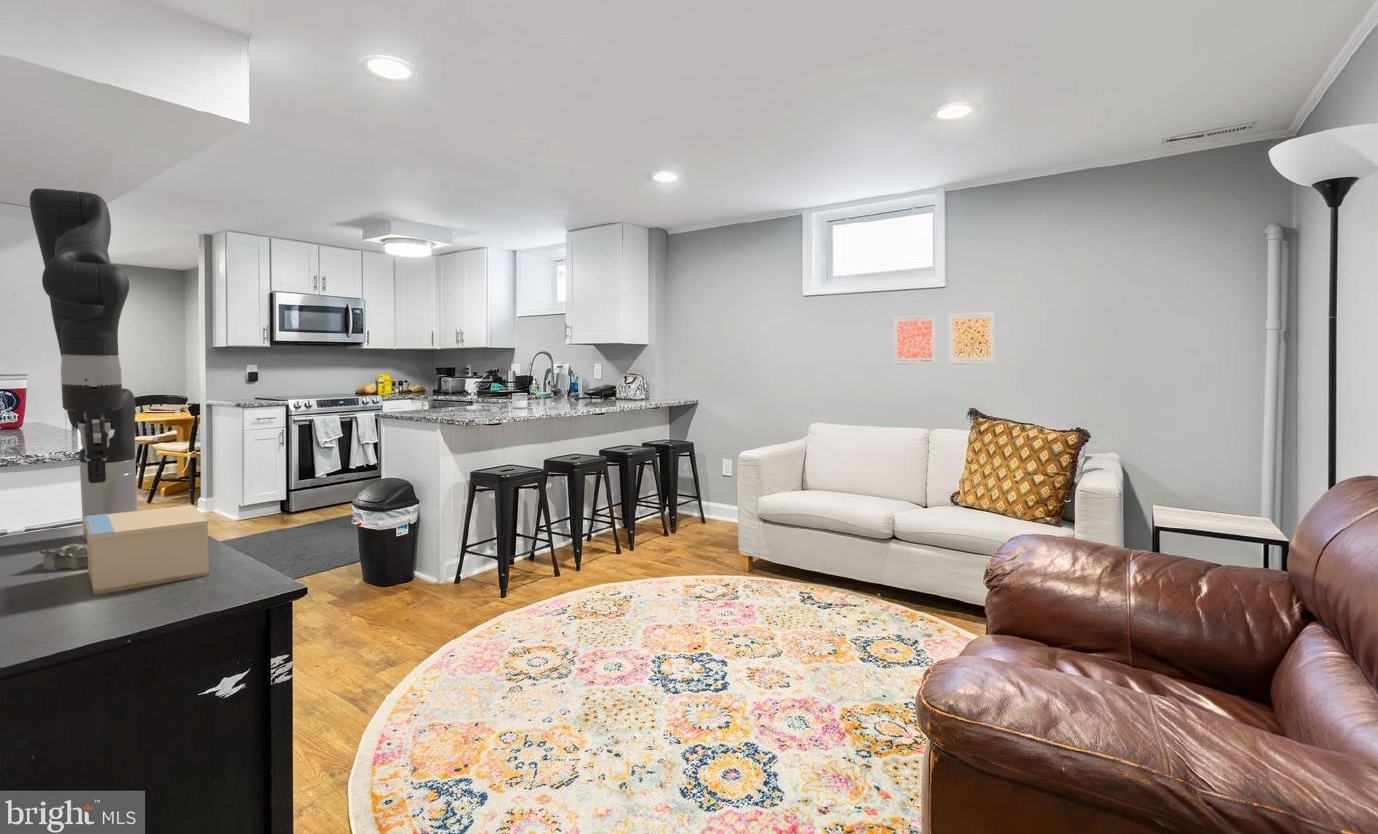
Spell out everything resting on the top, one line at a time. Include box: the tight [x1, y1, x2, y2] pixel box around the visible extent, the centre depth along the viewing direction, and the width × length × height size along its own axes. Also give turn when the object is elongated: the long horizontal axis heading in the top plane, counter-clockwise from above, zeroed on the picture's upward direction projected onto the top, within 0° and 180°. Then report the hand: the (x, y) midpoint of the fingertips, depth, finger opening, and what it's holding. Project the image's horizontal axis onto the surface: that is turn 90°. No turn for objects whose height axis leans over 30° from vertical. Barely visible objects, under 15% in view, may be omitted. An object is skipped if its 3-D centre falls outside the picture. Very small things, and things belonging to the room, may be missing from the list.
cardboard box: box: [86, 525, 210, 596], centre depth 121 cm, size 16×16×10 cm
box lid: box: [84, 504, 209, 540], centre depth 120 cm, size 16×16×1 cm
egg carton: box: [39, 543, 88, 571], centre depth 125 cm, size 11×8×4 cm
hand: (97, 482), depth 110 cm, fingers closed
